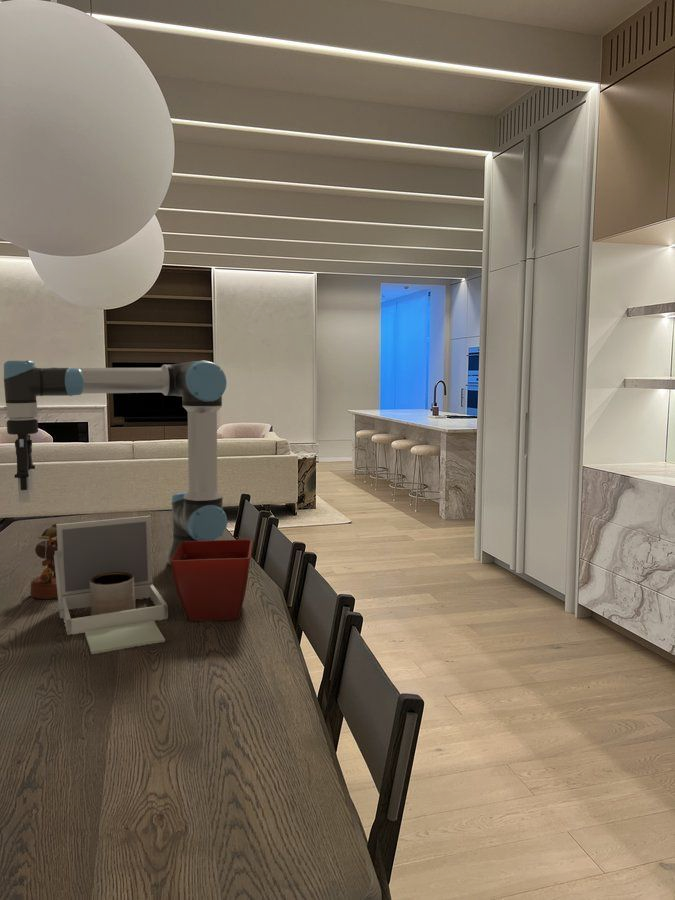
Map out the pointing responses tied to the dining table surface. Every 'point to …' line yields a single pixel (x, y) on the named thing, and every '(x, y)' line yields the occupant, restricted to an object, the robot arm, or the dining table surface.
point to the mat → (123, 637)
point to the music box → (47, 581)
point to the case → (105, 569)
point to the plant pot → (211, 578)
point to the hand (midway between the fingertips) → (26, 497)
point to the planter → (112, 593)
